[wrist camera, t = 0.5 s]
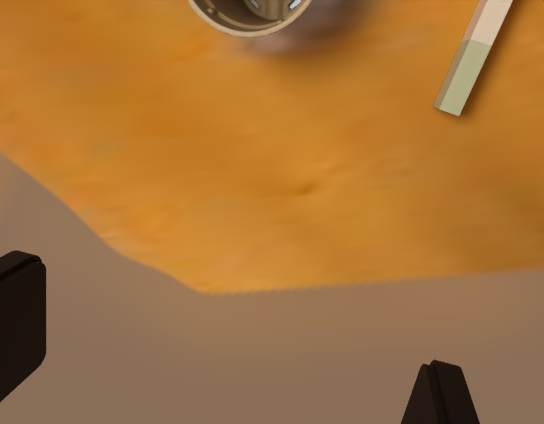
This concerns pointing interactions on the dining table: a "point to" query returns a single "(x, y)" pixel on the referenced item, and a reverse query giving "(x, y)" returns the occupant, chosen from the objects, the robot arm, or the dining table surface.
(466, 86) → the set of beige bars
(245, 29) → the flower pot
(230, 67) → the dining table surface
